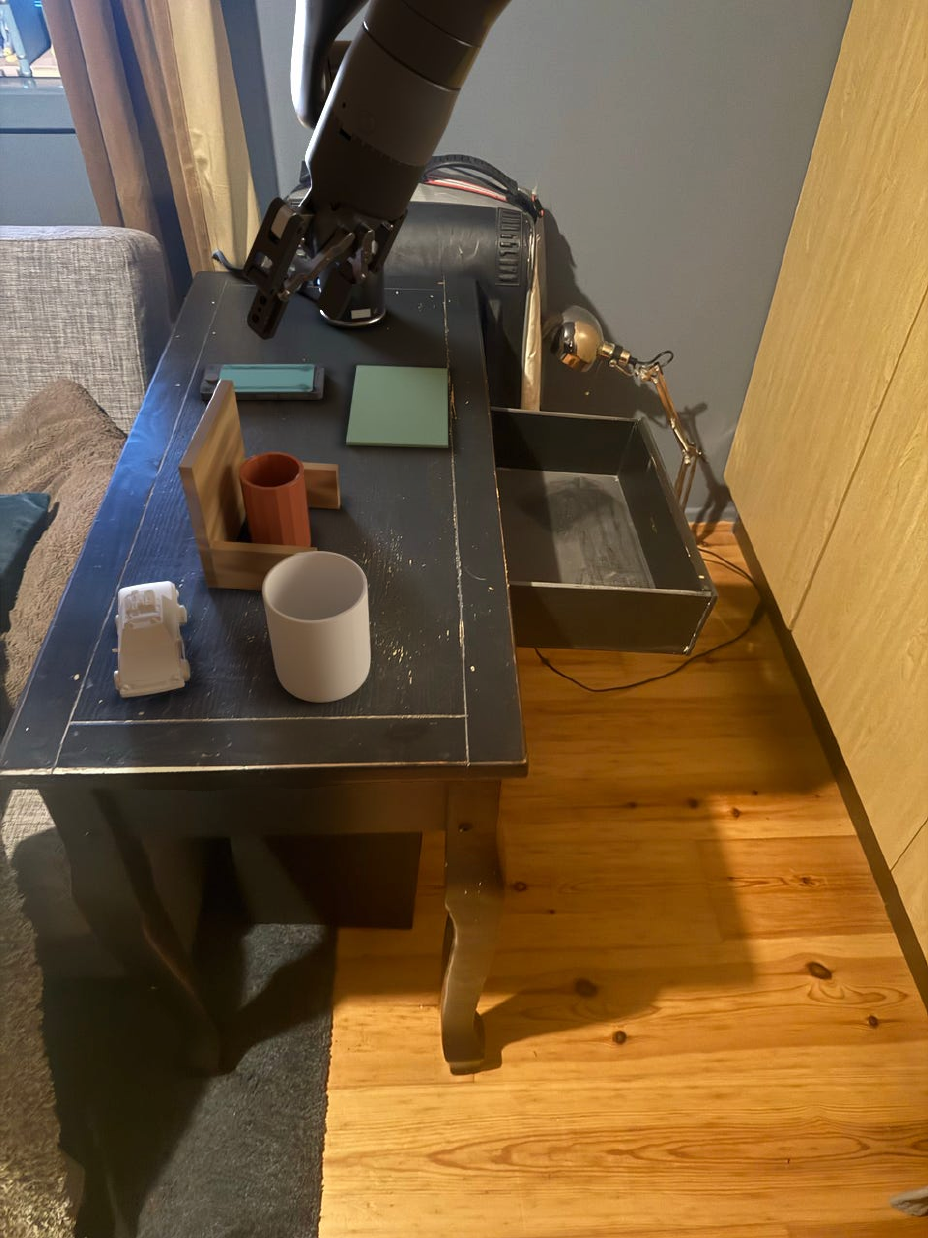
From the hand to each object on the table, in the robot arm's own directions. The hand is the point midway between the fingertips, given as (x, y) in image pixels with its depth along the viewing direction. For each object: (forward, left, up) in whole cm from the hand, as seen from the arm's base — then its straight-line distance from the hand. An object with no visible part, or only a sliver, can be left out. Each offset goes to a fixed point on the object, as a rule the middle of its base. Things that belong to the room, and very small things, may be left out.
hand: (294, 322), depth 65 cm
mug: (+12, -5, -25) cm, 28 cm away
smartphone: (-34, +5, -25) cm, 42 cm away
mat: (-23, +19, -25) cm, 39 cm away
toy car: (+6, -18, -25) cm, 31 cm away
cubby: (-4, -3, -25) cm, 25 cm away
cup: (-4, -3, -25) cm, 25 cm away
